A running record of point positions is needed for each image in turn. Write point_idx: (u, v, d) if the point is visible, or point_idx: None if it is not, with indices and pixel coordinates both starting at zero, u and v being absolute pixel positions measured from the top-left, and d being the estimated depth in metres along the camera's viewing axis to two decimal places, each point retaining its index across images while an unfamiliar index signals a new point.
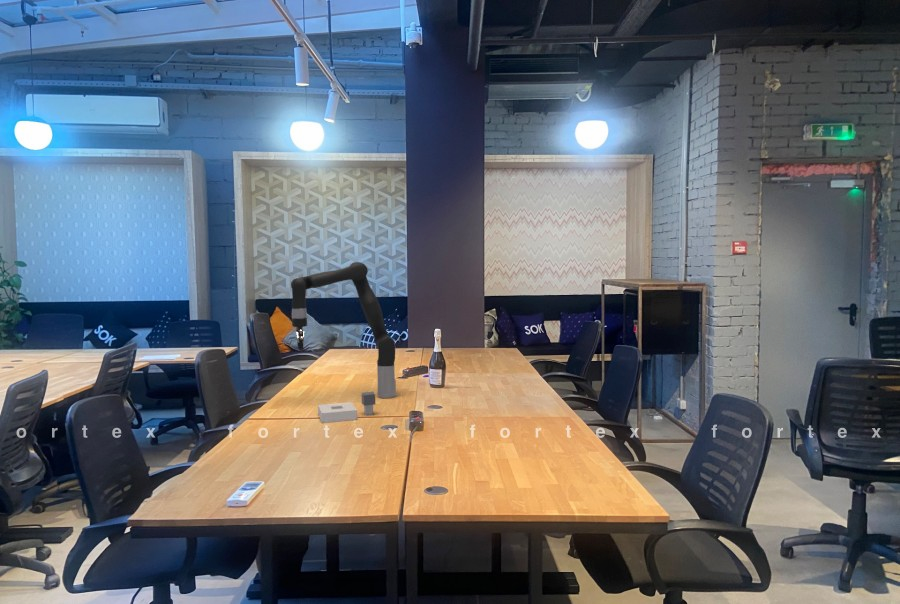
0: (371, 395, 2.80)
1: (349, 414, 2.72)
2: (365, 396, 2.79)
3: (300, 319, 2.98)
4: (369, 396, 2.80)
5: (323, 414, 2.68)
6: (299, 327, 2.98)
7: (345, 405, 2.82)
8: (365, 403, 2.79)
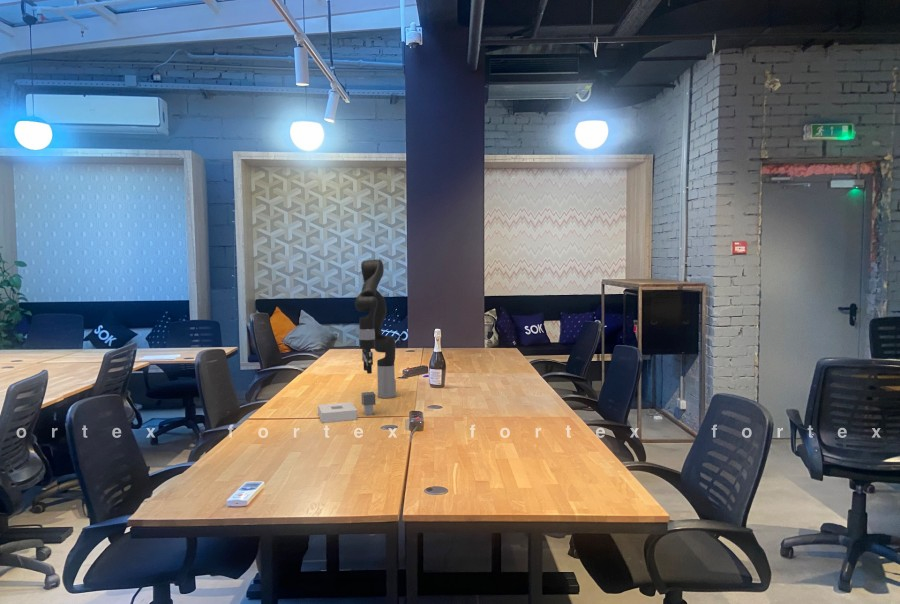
0: (371, 395, 2.80)
1: (349, 414, 2.72)
2: (365, 396, 2.79)
3: (369, 341, 2.77)
4: (369, 396, 2.80)
5: (323, 414, 2.68)
6: (367, 349, 2.77)
7: (345, 405, 2.82)
8: (365, 403, 2.79)
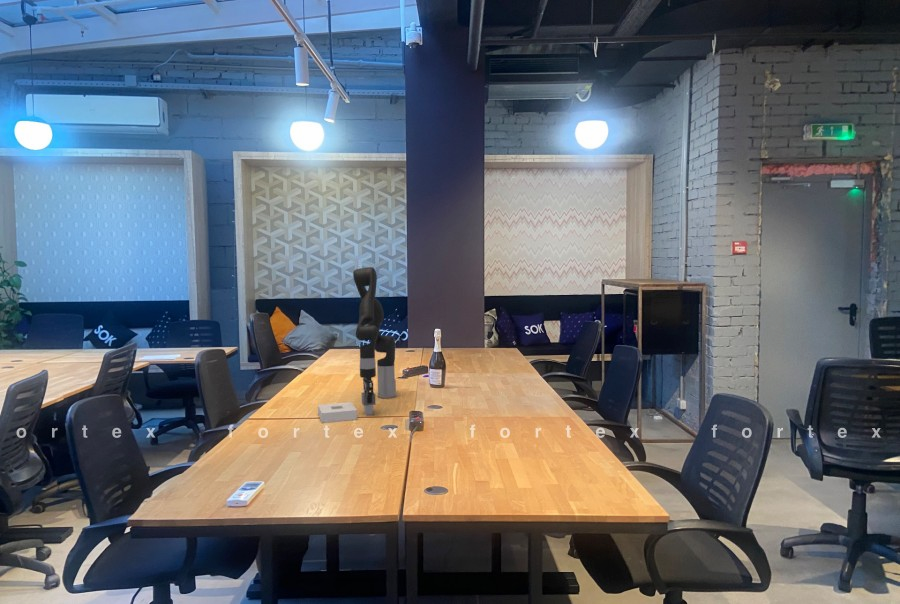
0: None
1: (349, 414, 2.72)
2: (365, 396, 2.79)
3: (369, 370, 2.78)
4: None
5: (323, 414, 2.68)
6: (368, 378, 2.78)
7: (345, 405, 2.82)
8: (365, 403, 2.80)
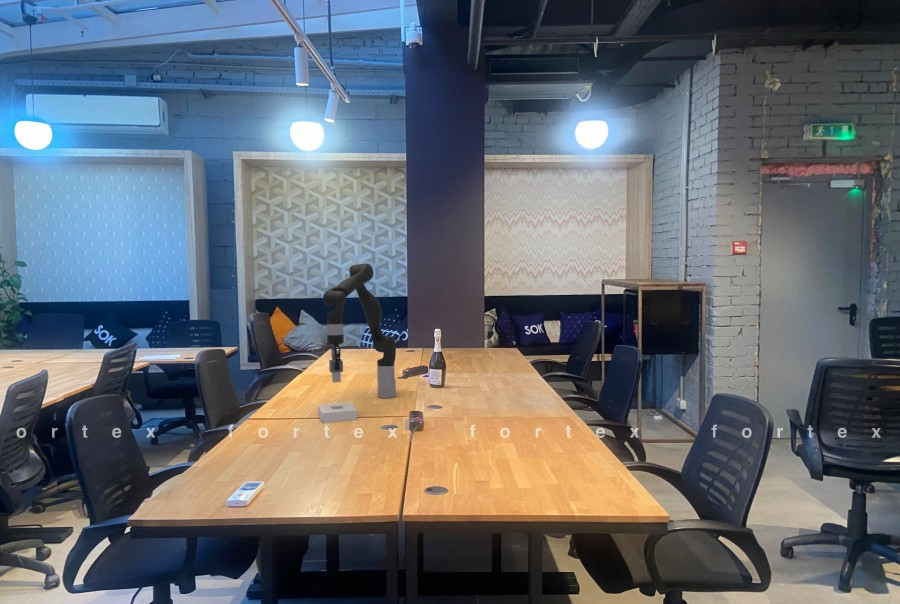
0: None
1: (349, 414, 2.72)
2: (332, 363, 2.73)
3: (337, 336, 2.72)
4: None
5: (323, 414, 2.68)
6: (335, 344, 2.72)
7: (345, 405, 2.82)
8: (332, 370, 2.73)
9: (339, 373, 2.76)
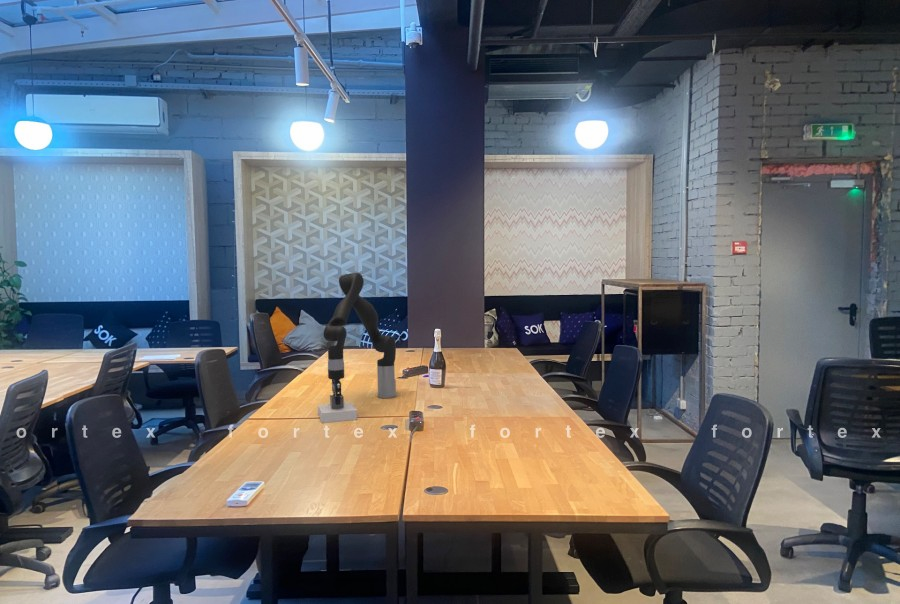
0: None
1: (349, 414, 2.72)
2: (333, 399, 2.75)
3: (337, 371, 2.73)
4: None
5: (323, 414, 2.68)
6: (336, 380, 2.73)
7: (345, 405, 2.82)
8: (333, 406, 2.75)
9: (340, 408, 2.77)
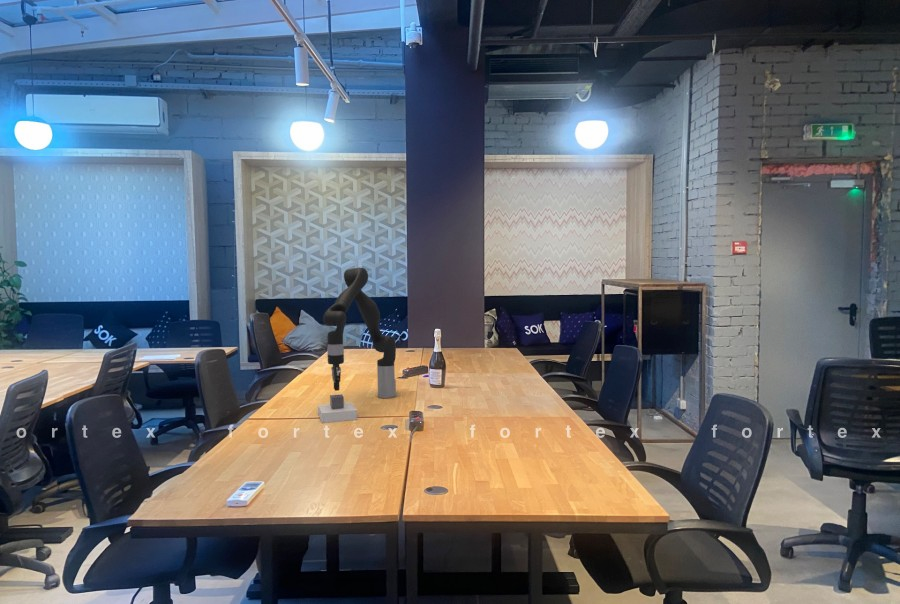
0: (339, 398, 2.75)
1: (349, 414, 2.72)
2: (333, 399, 2.75)
3: (337, 356, 2.73)
4: (337, 399, 2.75)
5: (323, 414, 2.68)
6: (336, 365, 2.73)
7: (345, 405, 2.82)
8: (333, 406, 2.75)
9: None
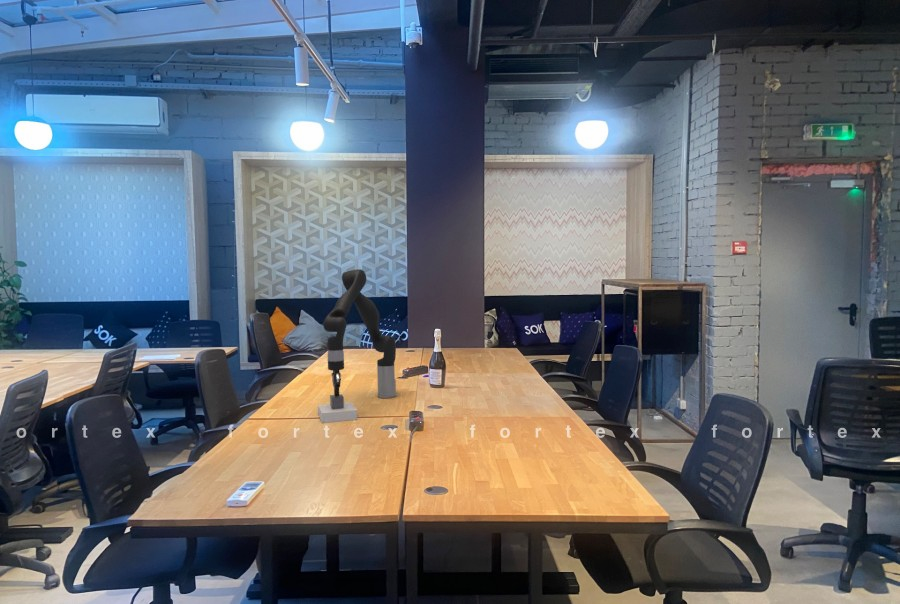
0: (339, 398, 2.75)
1: (349, 414, 2.72)
2: (333, 399, 2.75)
3: (337, 362, 2.73)
4: (337, 399, 2.75)
5: (323, 414, 2.68)
6: (336, 371, 2.73)
7: (345, 405, 2.82)
8: (333, 406, 2.75)
9: None
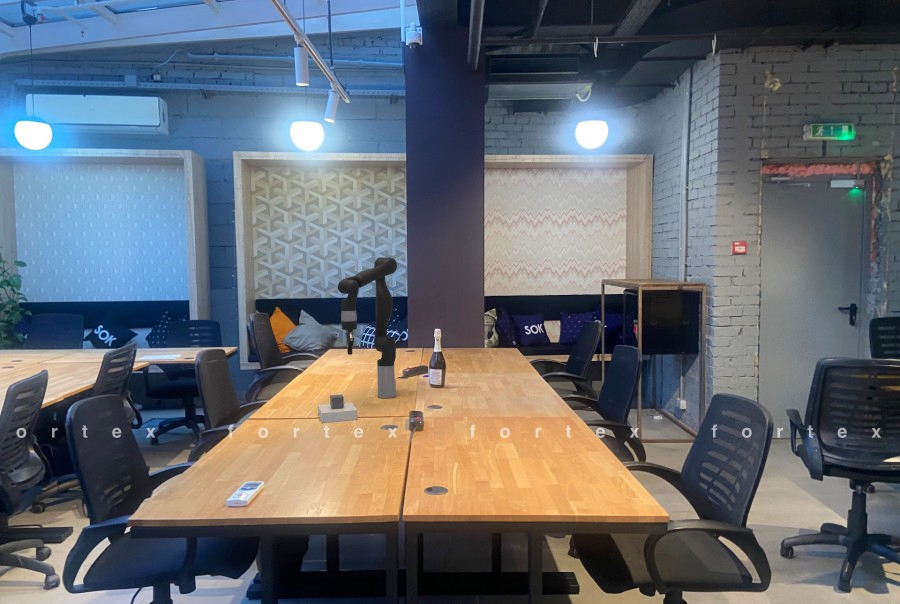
0: (339, 398, 2.75)
1: (349, 414, 2.72)
2: (333, 399, 2.75)
3: (350, 322, 2.89)
4: (337, 399, 2.75)
5: (323, 414, 2.68)
6: (349, 330, 2.89)
7: (345, 405, 2.82)
8: (333, 406, 2.75)
9: None
